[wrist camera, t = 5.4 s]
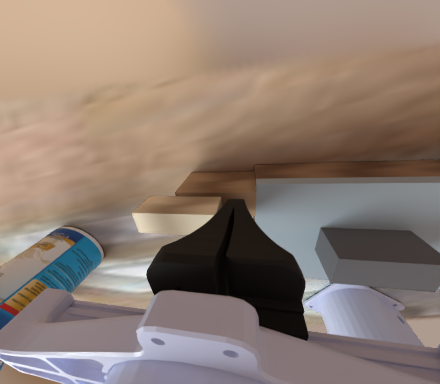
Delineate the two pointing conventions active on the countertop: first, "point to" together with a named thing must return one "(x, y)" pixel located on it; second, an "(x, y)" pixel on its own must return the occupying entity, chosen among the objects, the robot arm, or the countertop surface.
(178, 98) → the countertop surface
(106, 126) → the countertop surface
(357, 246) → the lid
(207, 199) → the block
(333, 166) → the brown angular frame
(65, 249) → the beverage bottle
